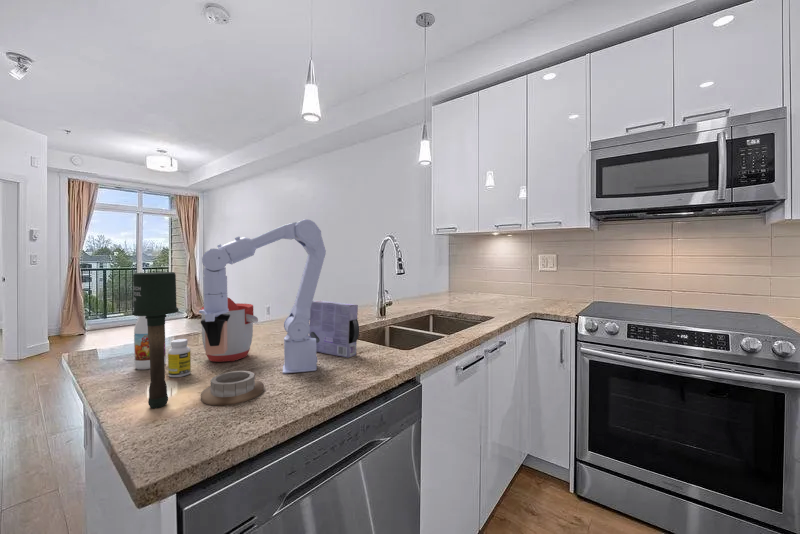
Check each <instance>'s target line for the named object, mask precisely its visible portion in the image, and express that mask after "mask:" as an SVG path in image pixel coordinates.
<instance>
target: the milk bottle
mask: <svg viewBox="0 0 800 534" xmlns="http://www.w3.org/2000/svg"><path fill="white" fill-rule="evenodd" d="M145 317H146V316H138V318H137V321H136V322H135V324H134V329H133V334H134V335H133V352H134V368H135V369H136V370H145V371H146V370H150V345H149V342H148V326H147V319H146V318H145ZM166 358H167V357H166V340H165V341H164V364H165V365H166V360H167V359H166Z"/></svg>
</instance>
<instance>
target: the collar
mask: <svg viewBox="0 0 800 534" xmlns="http://www.w3.org/2000/svg"><path fill="white" fill-rule="evenodd" d="M255 377H256V376H255V373H254V372H252V371H249V370H233V371H228V372H223V373H219V374H217V375H215V376H213V377H212V378H211V379H210V382H209V383H210V386H208V387H206V388H205V389H203V390H202V391H201V393H200V401H201V402H202V403H203V404H205V405H208V406H230V405H236V404H237V405H238V404H242V403H244V402H245V403H246V402H248V401H250V400H253V399H255V398H257V397H259V396H261V395H262V394H263V393H264V391H265V384H264V383H263V382H262V381H260V380H257V379H256V378H255Z"/></svg>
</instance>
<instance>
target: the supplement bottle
mask: <svg viewBox="0 0 800 534" xmlns="http://www.w3.org/2000/svg"><path fill="white" fill-rule="evenodd" d="M188 341H189V340H188V339H187V338H179V339H173V340H171V342H170V347H171V348H170V349H168V351H167V370H168V371H167V373H168V374H167V375H168V377H170V378H181V377H185V376H188V375H190V374H191V371H192V369H191V368H192V367H191V364H192V363H191V362H192V361H191V348H190V347H189V346H188V345H189V344H188V343H189V342H188Z"/></svg>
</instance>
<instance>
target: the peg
mask: <svg viewBox="0 0 800 534" xmlns="http://www.w3.org/2000/svg"><path fill="white" fill-rule="evenodd" d="M227 350H228V347H227V321H225V322H224V324H223V327H222V331H221V338H220V343H219V346H210V344H209V341H208V337H207V334H206V331H205V349H204V351H206V352H205V356H207V355H214V354H225V352H226V351H227Z"/></svg>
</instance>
